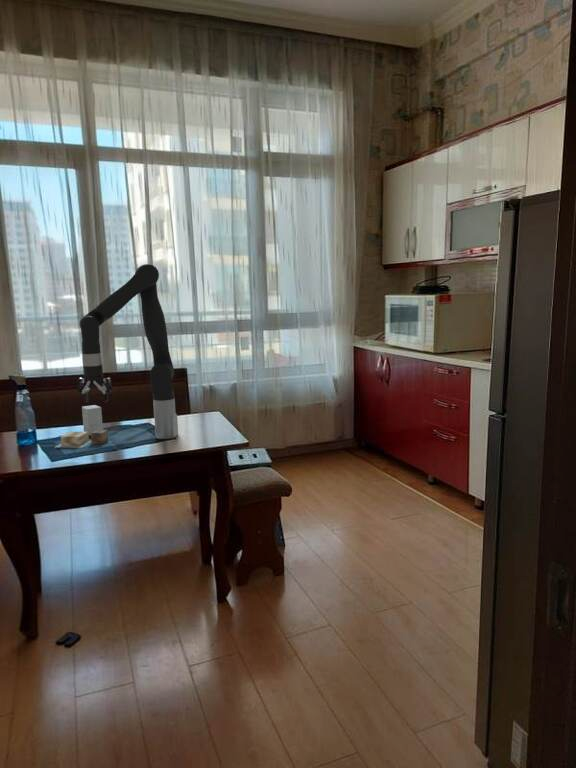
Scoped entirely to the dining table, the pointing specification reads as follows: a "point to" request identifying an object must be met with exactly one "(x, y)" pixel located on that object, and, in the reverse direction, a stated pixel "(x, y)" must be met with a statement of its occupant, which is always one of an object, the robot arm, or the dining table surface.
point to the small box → (92, 418)
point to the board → (76, 446)
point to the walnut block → (99, 436)
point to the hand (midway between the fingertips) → (96, 402)
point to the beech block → (74, 438)
